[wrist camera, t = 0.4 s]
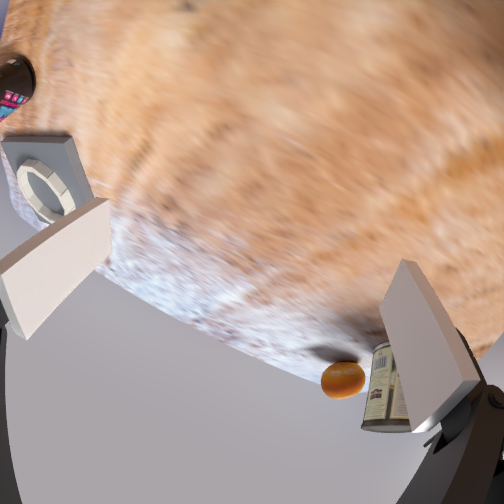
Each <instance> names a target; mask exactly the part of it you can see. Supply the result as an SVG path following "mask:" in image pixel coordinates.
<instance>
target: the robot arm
mask: <svg viewBox="0 0 504 504" xmlns="http://www.w3.org/2000/svg"><path fill="white" fill-rule="evenodd" d="M111 253H112V241H111V227H110V206H109V199H106V198H100V197H96V198H94V199H92V200H90V201H89V202H87V203H85V204H83V205H82V206H80V207H78V208H77V209H75V210H73V211H72V212H70V213H68V214H67V215H65V216H64V217H62V218H60V219H59V220H57V221H56V222H54V223H53V224H51V225H49V226H48V227H46V228H45V229H43V230H42V231H40V232H39V233H38V234H36V235H34V236H33V237H32V238H30V239H29V240H27V241H26V242H24V243H23V244H22V245H20V246H19V247H17V248H16V249H15V250H13V251H12V252H11V253H9V254H8V255H7V256H5V257H4V258H3V259H1V260H0V504H22V502H21V498H20V495H19V491H18V487H17V483H16V478H15V474H14V469H13V464H12V459H11V452H10V446H9V438H8V429H7V420H6V404H5V357H6V340H7V330H6V328H5V324H6V323H7V322H8V321H9V322H10V324H11V326H12V329H13V331H14V333H15V334H17V335H19V336H20V337H22V338H24V339H25V340H28V339H29V337H30V336H31V335H32V334H33V333H34V332H35V331H36V329H37V328H38V327H39V326H40V325H41V324H42V323H43V322H44V320H45V319H46V318H47V317H48V316H49V315H50V314H51V313H52V312H53V311H54V310H55V308H56V307H57V306H58V305H59V304H60V303H61V302H62V301H63V300H64V299H65V298H66V297H67V296H68V295H69V294H70V292H72V291H73V290H74V289H75V287H77V286H78V284H80V283H81V282H82V281H83V280H84V279H85V278H86V277H87V275H89V274H90V273H91V272H92V271H93V270H94V269H95V268H96V267H97V266H98V265H99V264H100V263H101V262H102V261H103V260H104V259H105V258H106V257H107V256H109V255H110V254H111ZM379 311H380V314H381V317H382V320H383V323H384V326H385V329H386V332H387V335H388V339H389V342H390V345H391V349H392V352H393V356H394V359H395V363H396V367H397V370H398V374H399V378H400V382H401V386H402V390H403V394H404V398H405V402H406V407H407V411H408V416H409V421H410V425H411V431H412V433H414V432H426V431H430V430H431V429H432V428H433V427H435V426H436V425H437V424H438V423H439V422H440V423H441V426H442V429H441V430H440V431H439V432H438V433H437V434H436V435H434V436H433V437H432V438H431V439H429V440H428V441H427V442H426V443H425V444H424V445H423V446H424V447H426V446H428V445H429V444H430V443H432V444H431V446H430V448H429V450H428V452H427V454H426V456H425V458H424V459H423V461H422V463H421V465H420V466H419V468H418V470H417V472H416V474H415V475H414V477H413V478H412V480H411V482H410V483H409V485H408V486H407V488H406V490H405V491H404V493H403V494H402V496H401V497H400V498H399V500H398V501H397V503H396V504H504V460H503V454H504V393H503V391H502V390H501V389H500V388H498V387H496V386H494V385H487V383H486V381H485V379H484V376H483V374H482V372H481V370H480V368H479V365H478V363H477V361H476V359H475V357H473V353H472V351H471V349H469V345H468V343H467V341H466V339H465V337H464V336H463V335H462V334H461V333H460V331H459V330H458V329H457V328H456V327H455V326H454V324H453V323H452V321H451V319H450V317H449V315H448V314H447V312H446V310H445V308H444V307H443V305H442V303H441V301H440V300H439V298H438V296H437V295H436V293H435V291H434V290H433V288H432V286H431V285H430V283H429V282H428V280H427V278H426V277H425V275H424V274H423V272H422V271H421V269H420V268H419V266H418V265H417V263H416V262H413V261H409V260H405V259H402V260H401V262H400V264H399V267H398V269H397V271H396V274H395V276H394V278H393V280H392V282H391V285H390V287H389V289H388V291H387V293H386V295H385V297H384V300H383V302H382V304H381V306H380V308H379Z"/></svg>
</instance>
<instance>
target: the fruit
mask: <svg viewBox="0 0 504 504" xmlns="http://www.w3.org/2000/svg"><path fill="white" fill-rule="evenodd" d="M364 384H365V373H364V371H363V369H362V368H361V367H360V366H359V365H358V364H356V363H354V362H339V363H335V364H332V365H331V366H329V367H328V368H327V369H326V370H325V371H324V372H323V374H322V377H321V386H322V389H323V391H324V392H325V394H326V395H327V396H329V397H330V398H333V399H346V398H349V397H352V396H354V395H356V394H357V393H359V392H360V391H361V390H362V388H363V386H364Z"/></svg>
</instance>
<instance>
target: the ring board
mask: <svg viewBox="0 0 504 504" xmlns="http://www.w3.org/2000/svg"><path fill="white" fill-rule="evenodd" d="M0 143H1V145H2V147H3V150H4V152H5V154H6V157H7V159H8V161H9V163H10V165H11V168H12V170H13V172H14V174H15V176H16V178H17V180H18V185H19V187H20V189H21V191H22V193H23V195H24V197H25V199H26V200H27V201H28V203H29V204H30V205H31V207H32V208H33V210H34V212H35V214H36V215H37V217H38V219H39V220H40V221H42V222H45V223H47V224H50V225H51V224H53V223H54V222H56V221H57V220H59V219H60V218H62V217H64V216H65V215H67V214H68V213H70V212H72V211H73V210H75V209H77V208H78V207H80V206H82V205H83V204H85V203H87V202H89V201H90V200H92V199H94V196H93V193H92V191H91V188H90V186H89V183H88V181H87V178H86V175H85V173H84V170H83V167H82V164H81V161H80V159H79V156H78V153H77V150H76V147H75V144H74V141H73V138H72V137H67V136H7V137H6V138H5V139H3V140H2V141H1V142H0Z"/></svg>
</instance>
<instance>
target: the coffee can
mask: <svg viewBox="0 0 504 504" xmlns="http://www.w3.org/2000/svg"><path fill="white" fill-rule="evenodd" d="M361 429H363V430H366V431H371V432H382V433H404V432H412V431H411V425H410V421H409V416H408V411H407V407H406V402H405V398H404V394H403V390H402V386H401V382H400V378H399V374H398V370H397V367H396V363H395V359H394V356H393V352H392V349H391V345H390V342H389V341H388V342H385V343H382V344H380V345H378V346H376V347H375V348H374V350H373V361H372V369H371V376H370V384H369V390H368V397H367V402H366V408H365V414H364V419H363V423H362V425H361Z"/></svg>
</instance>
